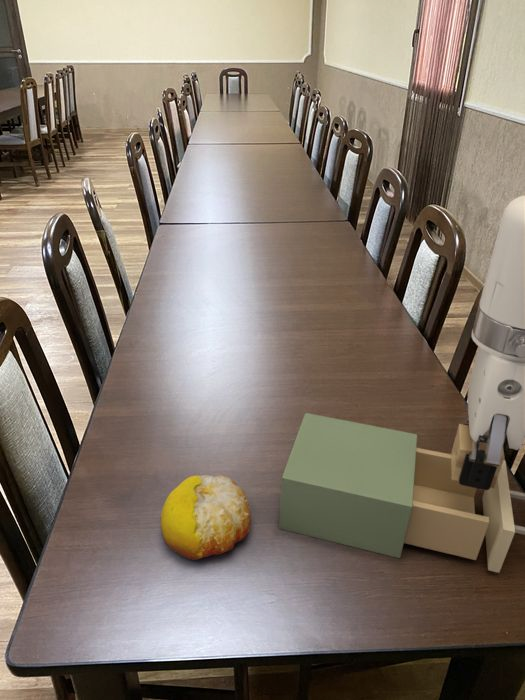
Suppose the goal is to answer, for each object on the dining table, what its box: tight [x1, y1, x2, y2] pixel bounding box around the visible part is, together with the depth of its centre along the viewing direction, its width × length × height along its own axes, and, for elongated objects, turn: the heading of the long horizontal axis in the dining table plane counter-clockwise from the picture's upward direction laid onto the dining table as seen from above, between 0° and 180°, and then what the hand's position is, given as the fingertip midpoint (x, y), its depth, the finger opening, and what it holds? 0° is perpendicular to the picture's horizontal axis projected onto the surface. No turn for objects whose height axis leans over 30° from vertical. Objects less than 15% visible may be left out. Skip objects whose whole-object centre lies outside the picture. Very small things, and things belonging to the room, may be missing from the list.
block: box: [450, 423, 505, 488], centre depth 60 cm, size 4×4×4 cm
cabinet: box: [278, 412, 418, 559], centre depth 67 cm, size 15×13×9 cm
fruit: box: [160, 474, 252, 561], centre depth 64 cm, size 11×10×8 cm
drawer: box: [404, 447, 525, 574], centre depth 64 cm, size 19×11×7 cm, turn 74°
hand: (472, 468), depth 61 cm, fingers closed on block, 4 cm apart
